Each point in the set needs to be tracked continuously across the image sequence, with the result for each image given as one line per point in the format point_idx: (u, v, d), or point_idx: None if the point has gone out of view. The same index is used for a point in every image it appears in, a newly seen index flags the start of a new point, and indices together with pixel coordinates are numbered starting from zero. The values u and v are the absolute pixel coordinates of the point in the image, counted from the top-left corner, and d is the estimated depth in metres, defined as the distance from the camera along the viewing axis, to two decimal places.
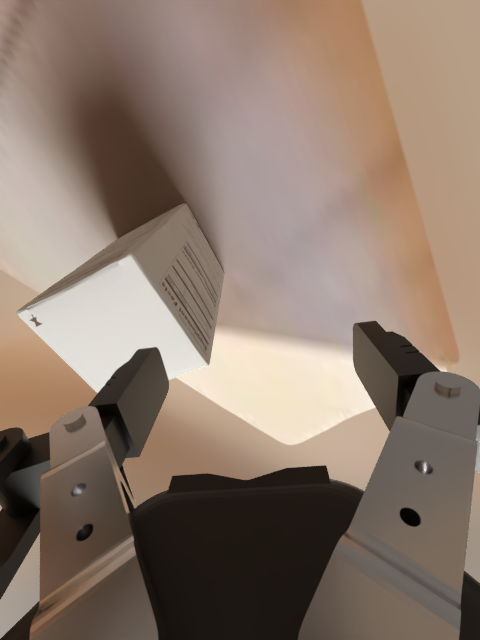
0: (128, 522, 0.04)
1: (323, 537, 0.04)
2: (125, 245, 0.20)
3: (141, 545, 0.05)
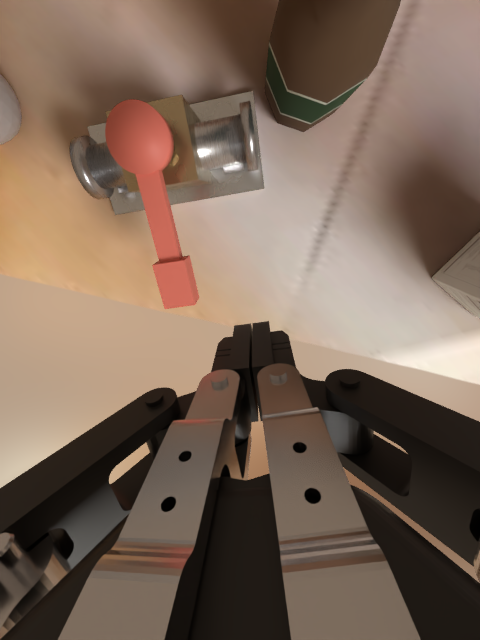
0: (198, 526, 0.04)
1: None
2: None
3: (208, 550, 0.04)
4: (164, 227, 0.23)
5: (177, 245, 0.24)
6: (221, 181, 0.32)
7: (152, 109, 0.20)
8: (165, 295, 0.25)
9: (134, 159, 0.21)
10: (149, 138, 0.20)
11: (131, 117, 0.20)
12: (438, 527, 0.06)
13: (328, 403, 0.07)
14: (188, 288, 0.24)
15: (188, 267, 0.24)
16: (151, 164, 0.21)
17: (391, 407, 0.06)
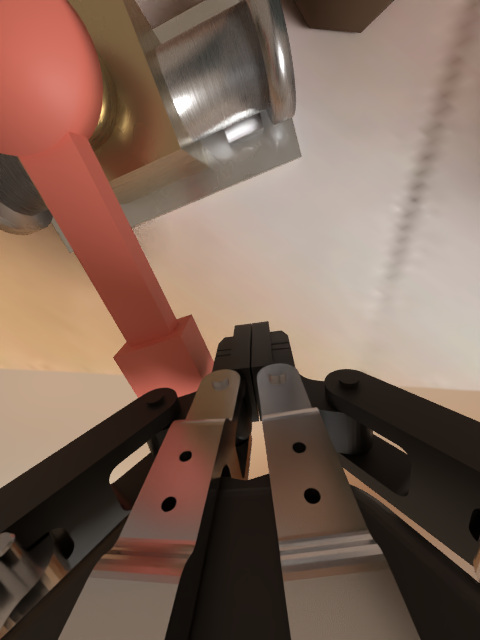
0: (199, 526, 0.04)
1: None
2: None
3: (209, 550, 0.04)
4: (120, 271, 0.10)
5: (159, 304, 0.10)
6: (226, 161, 0.18)
7: None
8: None
9: (0, 116, 0.08)
10: (18, 42, 0.07)
11: None
12: (437, 527, 0.06)
13: (327, 403, 0.07)
14: None
15: (193, 344, 0.11)
16: (46, 119, 0.08)
17: (390, 407, 0.06)
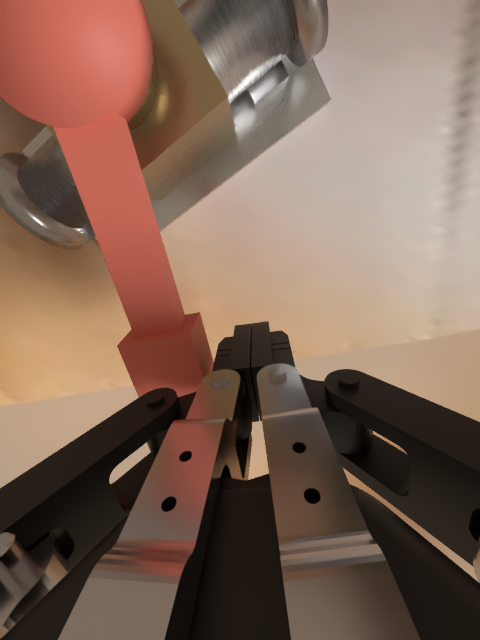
0: (199, 526, 0.04)
1: None
2: None
3: (209, 550, 0.04)
4: (140, 260, 0.10)
5: (172, 298, 0.10)
6: (253, 127, 0.18)
7: None
8: None
9: (43, 82, 0.07)
10: (77, 12, 0.07)
11: None
12: (437, 527, 0.06)
13: (327, 403, 0.07)
14: None
15: (199, 342, 0.11)
16: (91, 95, 0.08)
17: (390, 407, 0.06)
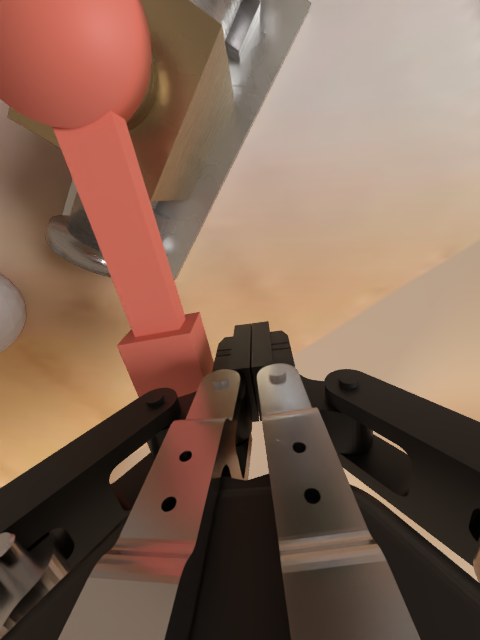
0: (199, 526, 0.04)
1: None
2: None
3: (209, 550, 0.04)
4: (139, 260, 0.10)
5: (172, 298, 0.10)
6: (245, 80, 0.17)
7: None
8: None
9: (42, 82, 0.07)
10: (76, 12, 0.07)
11: None
12: (437, 527, 0.06)
13: (327, 403, 0.07)
14: None
15: (199, 342, 0.11)
16: (90, 95, 0.08)
17: (390, 407, 0.06)
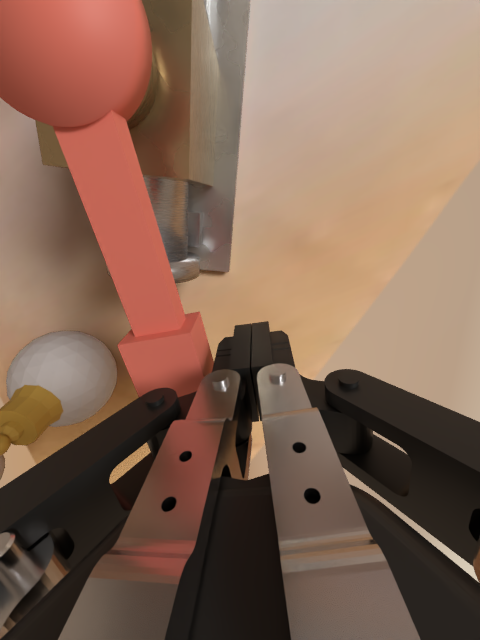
0: (199, 526, 0.04)
1: None
2: None
3: (209, 550, 0.04)
4: (139, 259, 0.10)
5: (172, 298, 0.10)
6: (221, 39, 0.16)
7: None
8: None
9: (42, 81, 0.07)
10: (76, 11, 0.07)
11: None
12: (437, 527, 0.06)
13: (327, 403, 0.07)
14: None
15: (199, 342, 0.11)
16: (91, 94, 0.08)
17: (390, 407, 0.06)
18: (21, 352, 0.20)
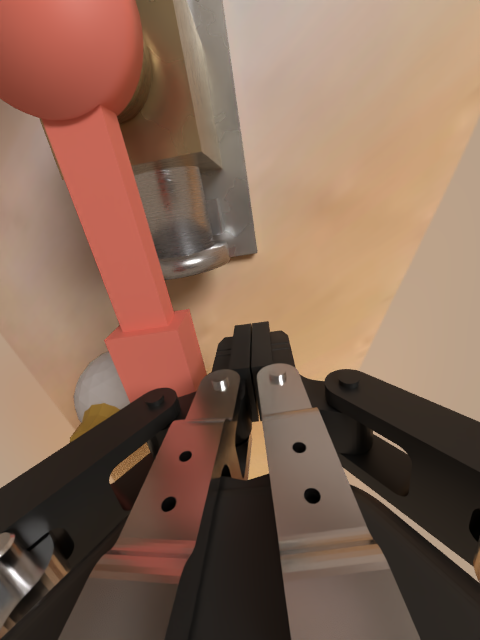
0: (198, 526, 0.04)
1: None
2: None
3: (208, 550, 0.04)
4: (127, 255, 0.09)
5: (160, 294, 0.10)
6: (198, 16, 0.16)
7: None
8: None
9: (31, 73, 0.07)
10: (65, 3, 0.07)
11: None
12: (437, 527, 0.06)
13: (327, 403, 0.07)
14: (187, 386, 0.11)
15: (187, 339, 0.11)
16: (79, 87, 0.07)
17: (390, 407, 0.06)
18: (81, 376, 0.21)
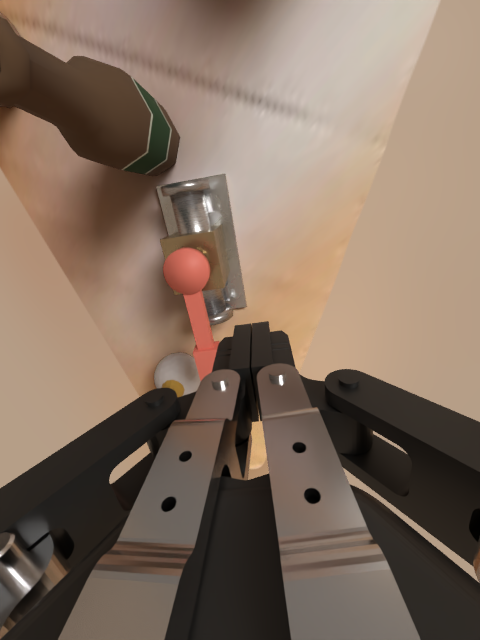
0: (199, 526, 0.04)
1: None
2: None
3: (209, 550, 0.04)
4: (202, 326, 0.31)
5: (211, 338, 0.32)
6: (220, 214, 0.37)
7: (197, 255, 0.28)
8: (201, 372, 0.33)
9: (183, 285, 0.29)
10: (194, 272, 0.28)
11: (182, 260, 0.28)
12: (437, 527, 0.06)
13: (328, 403, 0.07)
14: None
15: None
16: (195, 288, 0.29)
17: (390, 407, 0.06)
18: (159, 367, 0.43)
